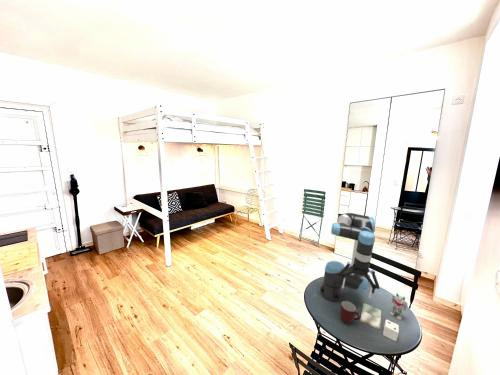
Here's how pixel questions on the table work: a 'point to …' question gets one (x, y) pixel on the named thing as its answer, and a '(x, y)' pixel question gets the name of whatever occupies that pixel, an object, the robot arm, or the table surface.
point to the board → (371, 316)
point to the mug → (348, 312)
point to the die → (391, 330)
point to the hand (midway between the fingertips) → (355, 291)
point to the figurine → (398, 305)
